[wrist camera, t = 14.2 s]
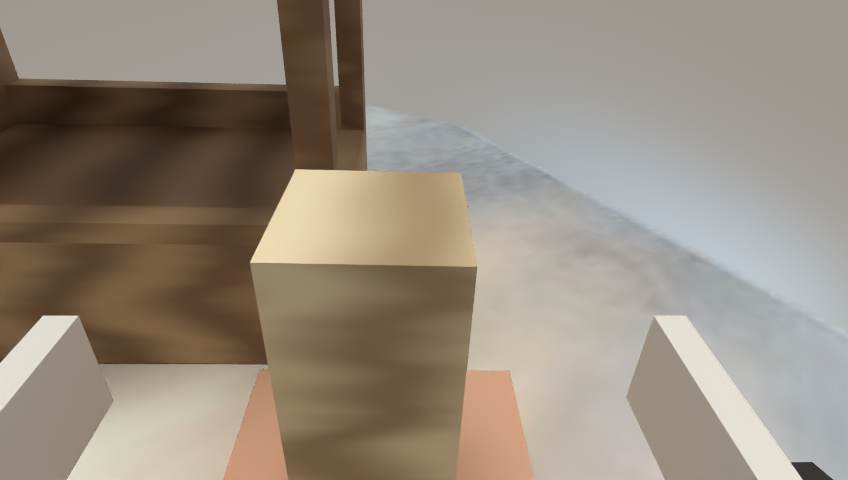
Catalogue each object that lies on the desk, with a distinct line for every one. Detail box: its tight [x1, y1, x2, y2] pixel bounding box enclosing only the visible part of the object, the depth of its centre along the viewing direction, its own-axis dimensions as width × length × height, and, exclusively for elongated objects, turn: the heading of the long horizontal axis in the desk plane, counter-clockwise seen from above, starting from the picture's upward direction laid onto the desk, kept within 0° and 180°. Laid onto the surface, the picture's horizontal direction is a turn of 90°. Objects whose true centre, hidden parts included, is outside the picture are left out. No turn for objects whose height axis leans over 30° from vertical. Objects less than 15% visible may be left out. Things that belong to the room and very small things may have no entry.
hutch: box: [0, 0, 367, 364], centre depth 26 cm, size 24×16×26 cm, turn 91°
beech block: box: [250, 169, 477, 480], centre depth 17 cm, size 5×5×12 cm
